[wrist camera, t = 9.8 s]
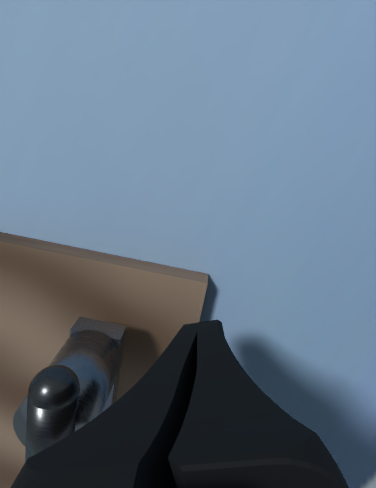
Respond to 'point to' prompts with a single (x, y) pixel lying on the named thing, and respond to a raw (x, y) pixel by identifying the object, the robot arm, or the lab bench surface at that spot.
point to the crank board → (85, 305)
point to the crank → (72, 385)
